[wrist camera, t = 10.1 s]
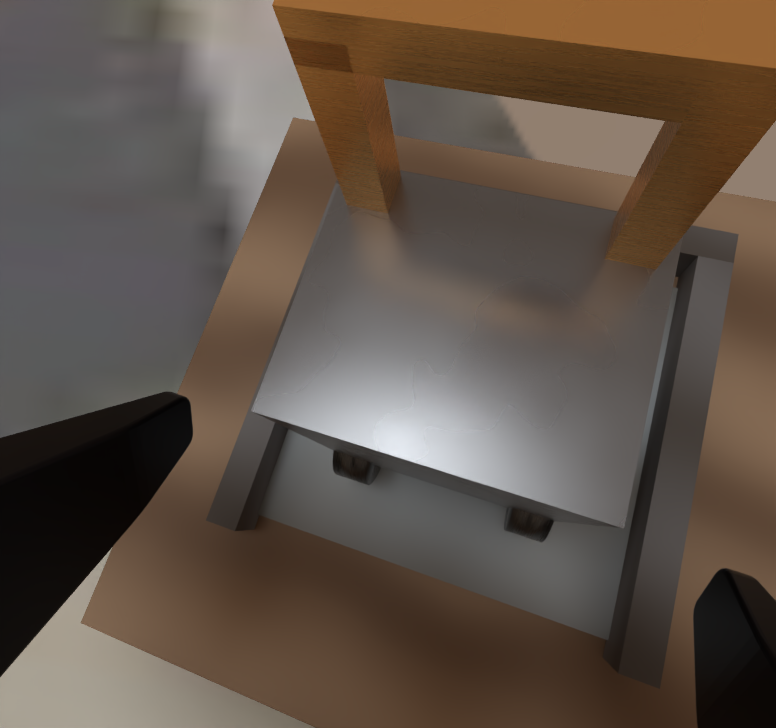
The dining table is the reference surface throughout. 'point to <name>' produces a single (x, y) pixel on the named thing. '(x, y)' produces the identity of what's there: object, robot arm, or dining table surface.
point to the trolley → (505, 245)
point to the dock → (454, 505)
